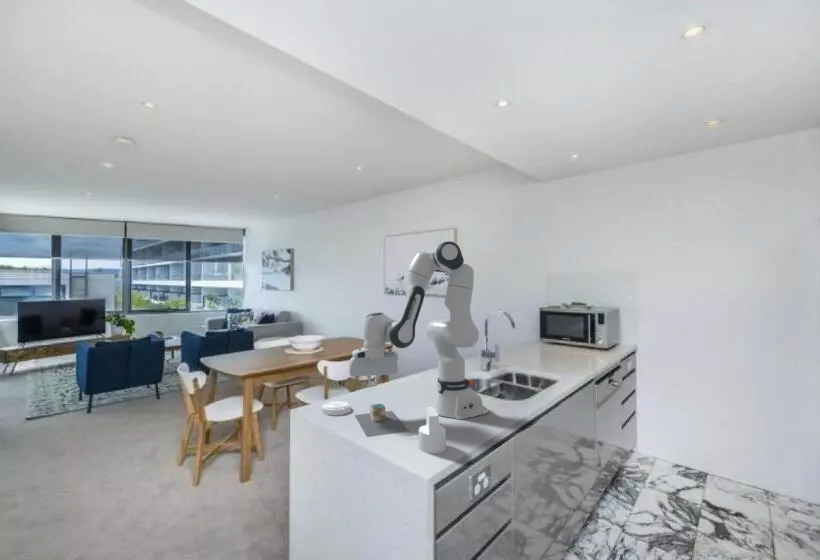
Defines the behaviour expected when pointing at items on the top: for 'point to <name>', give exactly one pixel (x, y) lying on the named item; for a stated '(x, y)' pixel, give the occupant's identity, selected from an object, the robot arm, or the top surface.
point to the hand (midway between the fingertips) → (372, 385)
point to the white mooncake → (336, 408)
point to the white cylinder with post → (432, 433)
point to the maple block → (377, 412)
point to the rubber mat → (381, 424)
